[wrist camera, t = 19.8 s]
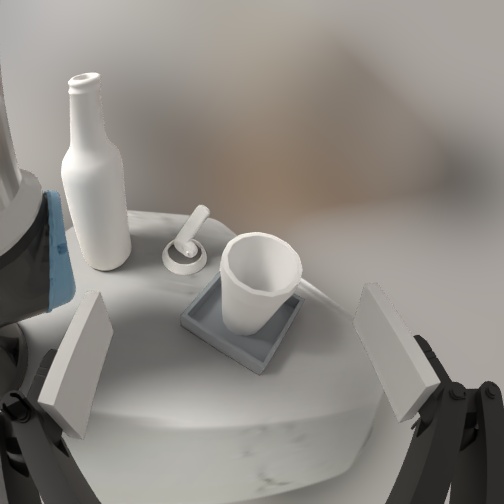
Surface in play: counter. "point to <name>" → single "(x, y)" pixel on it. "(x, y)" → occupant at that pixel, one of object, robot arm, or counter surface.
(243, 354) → the tray
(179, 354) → the counter surface
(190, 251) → the hook
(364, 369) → the counter surface
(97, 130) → the alcohol
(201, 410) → the counter surface
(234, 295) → the foam cup
